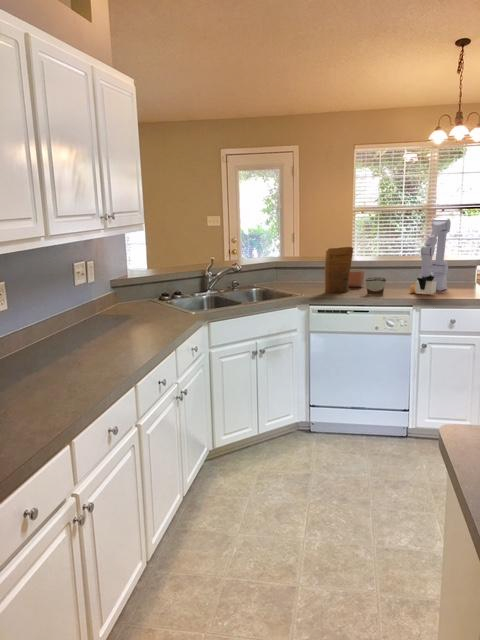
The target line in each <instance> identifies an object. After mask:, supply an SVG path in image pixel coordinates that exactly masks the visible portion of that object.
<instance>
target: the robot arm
mask: <svg viewBox="0 0 480 640" xmlns="http://www.w3.org/2000/svg"><path fill="white" fill-rule="evenodd" d="M430 225H431V229H432V231H431V233H430V236H428V237H427V238H426V241H425V243H424V245H423V246H421V248H420V258H421V266H420V267H421V268H420V269H421V270H420V273H419V274H417V275H418V277H417V278H416V279H417V281H419V284H420V289H421V290H424V289H425V284H426V281H433V282H437V283H436V291H439V292H440V291H443V290H448V288H447V281H448V280H447V274H448V272H449V264H448V261H446V260H445V254H446V253H445V250H446V243H447V235H448V233H450V232H451V219H450V218H433V219H432V221H431V224H430ZM435 249H436V250H435ZM435 251H436V253H435ZM434 254H435V259H434V260H433V256H434Z"/></svg>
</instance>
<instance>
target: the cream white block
mask: <svg viewBox="0 0 480 640" xmlns="http://www.w3.org/2000/svg"><path fill="white" fill-rule="evenodd" d="M436 283H437V282H433V281H426V284H425V289H424V290H421V289H420V284H419V281H418V280H416V281H415V285H416V286H415V292H416V293H420V294H421V293H423V294H428V295H429V294H431V295H432V294H435V293H437V290H436Z"/></svg>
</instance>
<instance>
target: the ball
mask: <svg viewBox="0 0 480 640" xmlns="http://www.w3.org/2000/svg"><path fill="white" fill-rule="evenodd" d="M415 286H416V284H412V285H410V287H409V290H408V291H409V292H410V293H411V294H416V293H417V292H415Z"/></svg>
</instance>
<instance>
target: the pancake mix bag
mask: <svg viewBox="0 0 480 640" xmlns="http://www.w3.org/2000/svg"><path fill="white" fill-rule="evenodd" d="M353 253H354V247H352V246H345V247H342V246H341V247H334V248H331V247H330V248H328V249H327V250H326V251H325V259H324V294H325V293H326V294H336V293H337V294H339V293H348V292H349V291H350V289H349V288H350V287H349V286H348V282H349V272H350V269H351V266H352V261H353V260H352V259H353Z"/></svg>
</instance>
